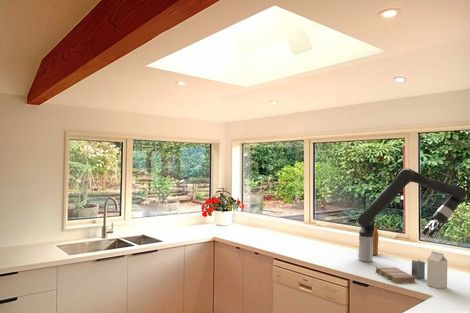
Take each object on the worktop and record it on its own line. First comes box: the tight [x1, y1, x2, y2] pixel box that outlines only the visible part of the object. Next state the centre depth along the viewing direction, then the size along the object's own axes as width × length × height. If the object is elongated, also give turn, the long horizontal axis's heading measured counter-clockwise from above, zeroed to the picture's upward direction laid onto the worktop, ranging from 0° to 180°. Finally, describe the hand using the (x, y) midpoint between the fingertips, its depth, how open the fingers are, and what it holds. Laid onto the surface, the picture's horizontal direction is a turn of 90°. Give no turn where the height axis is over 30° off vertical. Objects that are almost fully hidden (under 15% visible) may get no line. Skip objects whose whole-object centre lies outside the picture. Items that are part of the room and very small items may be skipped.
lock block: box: [411, 259, 426, 280], centre depth 214 cm, size 5×5×11 cm
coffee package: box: [373, 225, 379, 256], centre depth 272 cm, size 10×12×22 cm
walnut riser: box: [375, 266, 416, 284], centre depth 214 cm, size 20×13×3 cm, turn 8°
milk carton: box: [426, 250, 448, 290], centre depth 200 cm, size 7×7×19 cm
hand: (426, 234), depth 218 cm, fingers open, 8 cm apart
